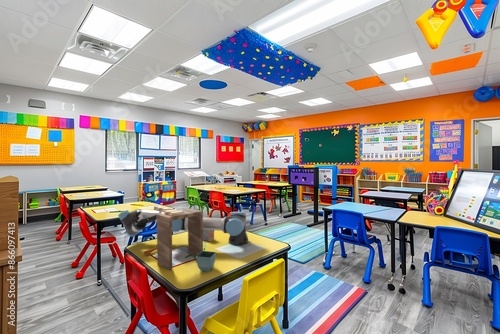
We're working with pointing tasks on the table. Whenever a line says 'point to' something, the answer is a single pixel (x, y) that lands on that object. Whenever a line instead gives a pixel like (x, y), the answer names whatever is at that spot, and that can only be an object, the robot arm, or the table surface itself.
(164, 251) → the shelf
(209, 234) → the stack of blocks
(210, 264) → the flower pot
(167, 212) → the salad server
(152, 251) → the kendama
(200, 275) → the table surface
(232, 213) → the robot arm
